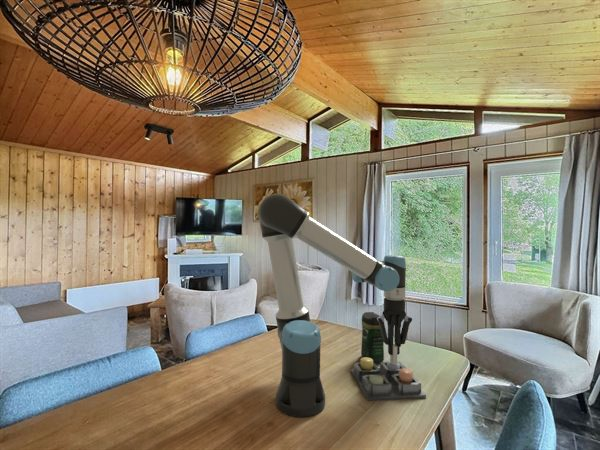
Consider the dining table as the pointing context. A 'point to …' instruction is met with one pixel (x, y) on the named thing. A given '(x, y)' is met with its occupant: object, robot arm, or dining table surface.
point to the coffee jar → (372, 338)
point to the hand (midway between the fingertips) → (393, 363)
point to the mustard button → (366, 363)
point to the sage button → (376, 379)
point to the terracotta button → (405, 375)
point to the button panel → (386, 383)
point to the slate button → (393, 366)
